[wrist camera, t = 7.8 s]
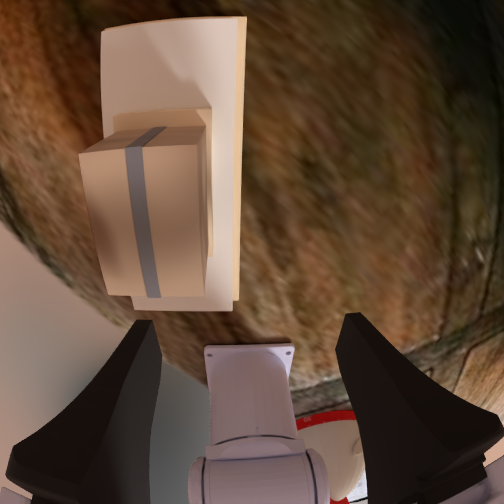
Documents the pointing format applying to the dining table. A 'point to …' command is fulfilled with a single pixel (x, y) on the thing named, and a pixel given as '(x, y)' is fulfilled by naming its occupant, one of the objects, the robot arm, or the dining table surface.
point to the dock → (188, 96)
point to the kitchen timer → (335, 449)
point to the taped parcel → (152, 202)
